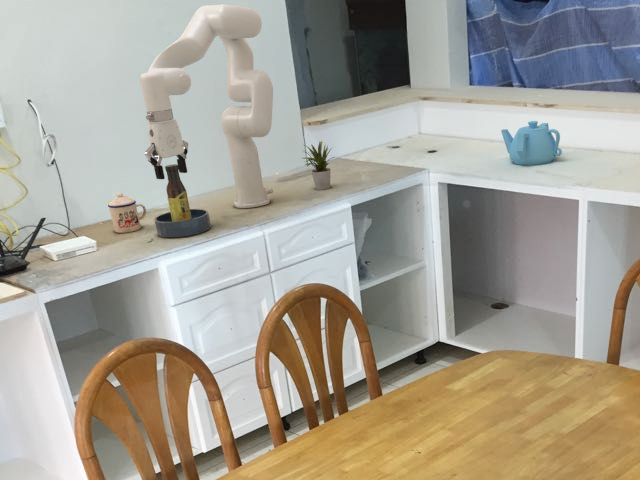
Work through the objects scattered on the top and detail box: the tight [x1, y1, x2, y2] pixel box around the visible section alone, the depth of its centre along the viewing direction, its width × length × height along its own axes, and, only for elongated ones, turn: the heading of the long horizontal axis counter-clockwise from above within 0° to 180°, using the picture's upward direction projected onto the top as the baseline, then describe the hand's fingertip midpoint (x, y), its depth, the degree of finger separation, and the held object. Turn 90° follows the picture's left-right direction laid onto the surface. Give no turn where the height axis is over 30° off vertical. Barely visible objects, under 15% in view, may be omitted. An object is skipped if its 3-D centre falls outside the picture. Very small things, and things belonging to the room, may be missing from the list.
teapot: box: [500, 120, 563, 166], centre depth 346 cm, size 19×19×14 cm
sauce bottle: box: [164, 163, 192, 222], centre depth 297 cm, size 6×6×20 cm
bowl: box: [153, 208, 212, 238], centre depth 301 cm, size 17×17×5 cm
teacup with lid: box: [107, 192, 147, 234], centre depth 309 cm, size 12×9×12 cm
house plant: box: [302, 140, 335, 191], centre depth 338 cm, size 14×14×16 cm
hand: (172, 175), depth 293 cm, fingers open, 9 cm apart
